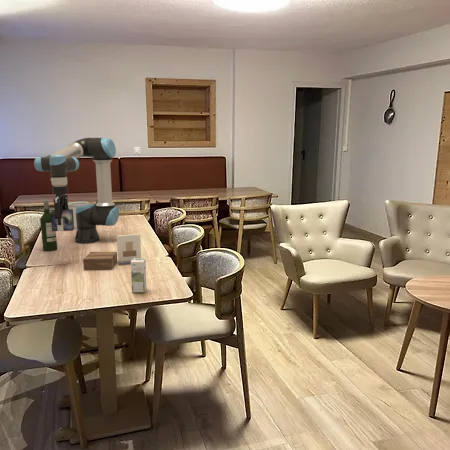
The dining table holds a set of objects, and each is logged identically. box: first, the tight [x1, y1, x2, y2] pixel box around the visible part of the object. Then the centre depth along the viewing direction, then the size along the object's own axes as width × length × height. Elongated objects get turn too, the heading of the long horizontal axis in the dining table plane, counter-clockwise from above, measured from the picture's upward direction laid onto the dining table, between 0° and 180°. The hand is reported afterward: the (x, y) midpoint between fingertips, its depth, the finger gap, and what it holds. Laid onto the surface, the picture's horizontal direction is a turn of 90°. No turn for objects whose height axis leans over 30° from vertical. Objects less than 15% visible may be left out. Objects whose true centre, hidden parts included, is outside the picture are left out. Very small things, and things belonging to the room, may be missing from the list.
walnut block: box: [82, 251, 118, 271], centre depth 229 cm, size 14×14×6 cm
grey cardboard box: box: [116, 233, 142, 266], centre depth 234 cm, size 6×12×15 cm, turn 107°
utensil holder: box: [68, 201, 90, 229], centre depth 320 cm, size 15×15×18 cm
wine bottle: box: [39, 198, 58, 252], centre depth 257 cm, size 8×8×30 cm
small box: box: [50, 209, 75, 232], centre depth 227 cm, size 11×6×10 cm, turn 103°
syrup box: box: [130, 257, 148, 294], centre depth 193 cm, size 6×6×14 cm
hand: (63, 229), depth 228 cm, fingers closed on small box, 7 cm apart
